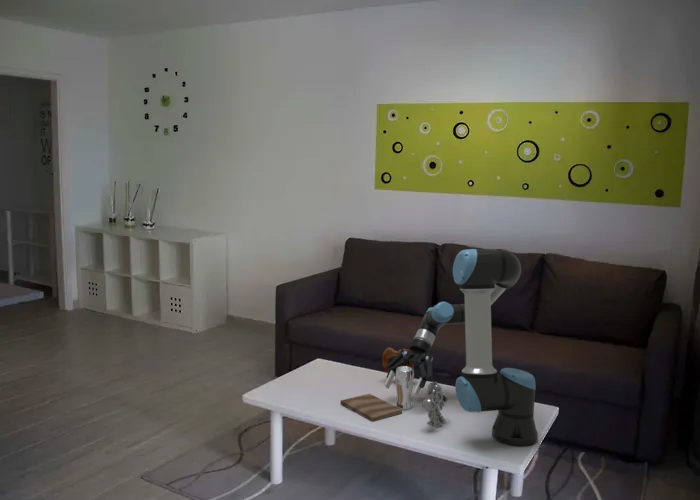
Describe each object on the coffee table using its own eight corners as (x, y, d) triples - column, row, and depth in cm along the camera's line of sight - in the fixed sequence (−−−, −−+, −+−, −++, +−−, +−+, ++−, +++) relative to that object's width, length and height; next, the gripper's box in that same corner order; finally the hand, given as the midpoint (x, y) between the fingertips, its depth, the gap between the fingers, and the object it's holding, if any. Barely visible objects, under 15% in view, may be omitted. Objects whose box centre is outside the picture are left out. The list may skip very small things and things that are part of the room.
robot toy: (433, 433, 221) (434, 391, 219) (417, 429, 224) (418, 388, 222) (450, 419, 233) (451, 380, 231) (434, 416, 236) (436, 376, 234)
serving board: (402, 413, 238) (402, 409, 238) (372, 421, 230) (372, 417, 230) (369, 397, 254) (369, 393, 254) (340, 404, 246) (340, 400, 246)
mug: (415, 380, 275) (417, 346, 273) (416, 386, 267) (417, 351, 265) (381, 378, 277) (382, 344, 275) (380, 385, 269) (381, 350, 267)
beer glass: (391, 404, 247) (392, 366, 245) (407, 402, 249) (409, 365, 247) (399, 410, 240) (400, 372, 239) (415, 408, 243) (417, 370, 241)
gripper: (453, 354, 248) (432, 402, 237) (399, 342, 262) (377, 388, 252) (447, 343, 243) (425, 393, 232) (392, 332, 257) (370, 378, 247)
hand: (400, 390), depth 242 cm, fingers open, 12 cm apart
